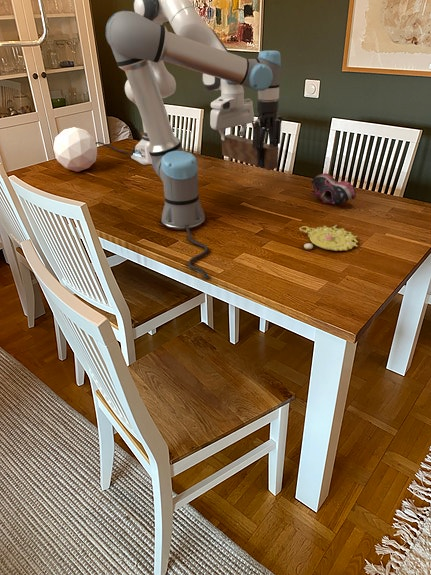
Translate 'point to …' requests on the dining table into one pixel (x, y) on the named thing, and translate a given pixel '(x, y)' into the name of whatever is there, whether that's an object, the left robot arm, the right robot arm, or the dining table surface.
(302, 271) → the dining table surface
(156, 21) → the left robot arm
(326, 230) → the decorative object
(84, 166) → the sphere
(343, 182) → the athletic shoe
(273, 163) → the bar
